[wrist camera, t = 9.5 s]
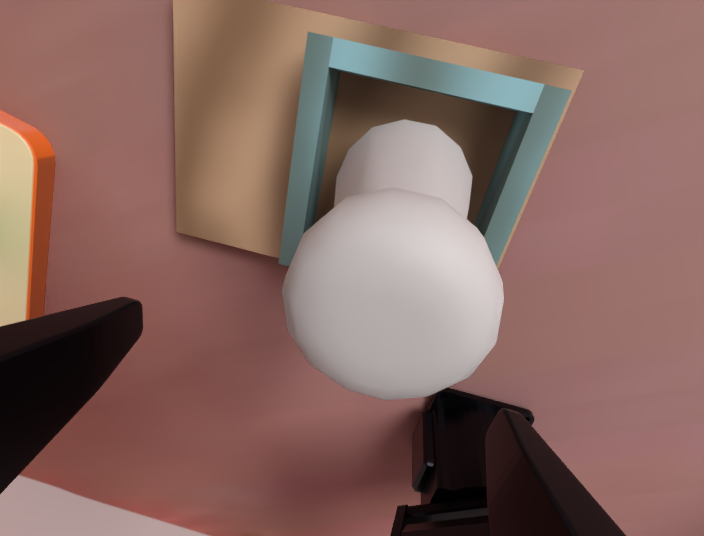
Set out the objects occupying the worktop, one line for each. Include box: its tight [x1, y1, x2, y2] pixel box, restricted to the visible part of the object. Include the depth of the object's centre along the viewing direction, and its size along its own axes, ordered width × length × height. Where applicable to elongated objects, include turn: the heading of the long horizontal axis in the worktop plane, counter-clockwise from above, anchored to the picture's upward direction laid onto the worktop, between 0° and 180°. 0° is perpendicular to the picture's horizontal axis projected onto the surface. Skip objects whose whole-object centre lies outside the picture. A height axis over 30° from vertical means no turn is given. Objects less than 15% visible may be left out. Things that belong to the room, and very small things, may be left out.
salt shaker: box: [282, 119, 504, 400], centre depth 12 cm, size 6×6×13 cm
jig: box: [173, 0, 584, 270], centre depth 17 cm, size 18×12×4 cm, turn 78°
